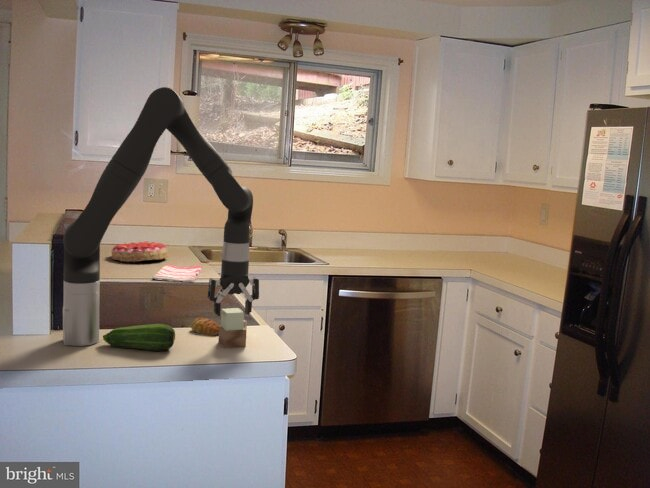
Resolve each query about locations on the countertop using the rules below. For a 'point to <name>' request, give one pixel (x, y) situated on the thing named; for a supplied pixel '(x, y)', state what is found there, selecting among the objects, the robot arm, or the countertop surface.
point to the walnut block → (232, 338)
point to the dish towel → (178, 273)
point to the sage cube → (232, 319)
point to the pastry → (205, 326)
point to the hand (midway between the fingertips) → (232, 314)
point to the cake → (139, 252)
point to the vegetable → (142, 337)
